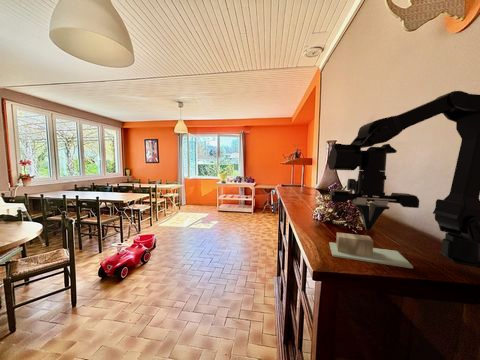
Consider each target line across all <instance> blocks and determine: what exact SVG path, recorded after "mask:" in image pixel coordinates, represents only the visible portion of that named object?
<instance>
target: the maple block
mask: <svg viewBox="0 0 480 360" xmlns="http://www.w3.org/2000/svg"><path fill="white" fill-rule="evenodd" d="M335 243H336V248H337V251H338V252H344V253H351V254H358V255H366V256H373V248H374V240H373V238H371V236H370V235H361V234H353V233H345V232H336V239H335Z"/></svg>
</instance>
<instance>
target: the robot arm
mask: <svg viewBox="0 0 480 360" xmlns="http://www.w3.org/2000/svg"><path fill="white" fill-rule="evenodd" d="M441 114H442V115H444V117H445V118H446V119H447V120H448V121H452V122H454V123H456V126H455V127H456V128H455V129H456V131H457V133H458V135H459V136H460V138H461V140H460V141H461V142H460V147H459V151H458V155H457V159H456V164H455V168H454V173H453V177H452V181H451V186H450V190H449V194H448V195H447V196H446V197H445V198H443V199H440V198H438V199H437V198H436V201H435V208H434V210H433V212H432V214H433V215H434V220H435V222H437V224H438V228H439V230H440V232H444V233H445V235H444V236H445V238H442V244H441V251H439V254H441V256H444V257H445V258H447V259H448V260H450V261H451V262H453V263H456V264H459V265H465V266H466V265H467V266H475V267H480V94H474V93H469V92H467V91H466V92H465V91H462V90H454V91H451V92H447V93H444V94H442V95H440V96H438V97H436V98H435V99H432V100H431V101H428V102H426V103H423V104H421V105H419V106H416V107H413V108H412V109H409V110H406V111H405V112H402V113H400V114H397V115H392V116H388V117H384V118H380V119H376V120H374V121H371V122H369V123H366V124H363V125H362V126H360V127H359V129H358V131H357V136H355V138H354V139H353V140H352V142H351V143H350V144H342V143H332V145H331V149H330V151H329V154H328V157H327V165H328V168H329V170H330V171H355V170H356V169H357V168H358V175H357V179H356V178H348V179H347V185H346V190H345V189H333V188H332V189H331V190H330V191H329V200H330V201H331V202H332V203H347V202H348V201H351V203H352V204H353V206H354V207H357V209H358V211H359V213H360V216H361V219H362V223H363V225H364V229H365V231H368V232H370V231H371V230H372V228H373V226H374V225H375V223H376V222H377V220H378V219H379V218H380V216H381V215H382V214H383V212H384V211H385V210H390V206H388V204H389V203H390V204H391V203H392V204H400V206H401V207H403V208H411V209H413V208H414V209H419V208H420V199H419V197H418V195H414V194H410V193H406V192H404V193H403V192H391V194H390V195H389V194H386V192H385V183H386V181H385V180H387V175H386V166H387V154H389V155H390V154H396V153H397V152H398V150H397V149H395V147H393V146H391V144H390V143H386V142H389V141H391V140H393V139H394V138H395V137H396V136H398V135H400V134H401V133H402V132H403V131H404V130H406V129H408V128H410V127H412V126H415V125H417V124H419V123H422V122H424V121H427V120H428V119H432V118H434V117H437V116H438V115H441ZM383 143H384V144H383ZM385 143H386V144H385ZM378 144H382V145H381V146H375V145H378ZM364 148H367V149H366V150H363V149H364ZM349 191H353V192H349ZM368 202H369V204H367V203H368Z"/></svg>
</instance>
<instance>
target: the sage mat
mask: <svg viewBox="0 0 480 360" xmlns="http://www.w3.org/2000/svg"><path fill="white" fill-rule="evenodd" d="M328 244H329V248H330V252H331V255H332V257H335V258H342V259H347V260H355V261H359V262H360V261H361V262H367V263H374V264H379V265H380V264H381V265H387V266H393V267H401V268H406V269H414V266H413V265H412V264H411V263H410V262H409V261H408V260H407V259H406V258H405V256H403V255H402V254H401V253H400V252H399V251H398V250H393V249H392V250H391V249H384V248H377V247H373V256H366V255H358V254H351V253H344V252H338V251H337V248H336V242H331V241H329V242H328Z"/></svg>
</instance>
